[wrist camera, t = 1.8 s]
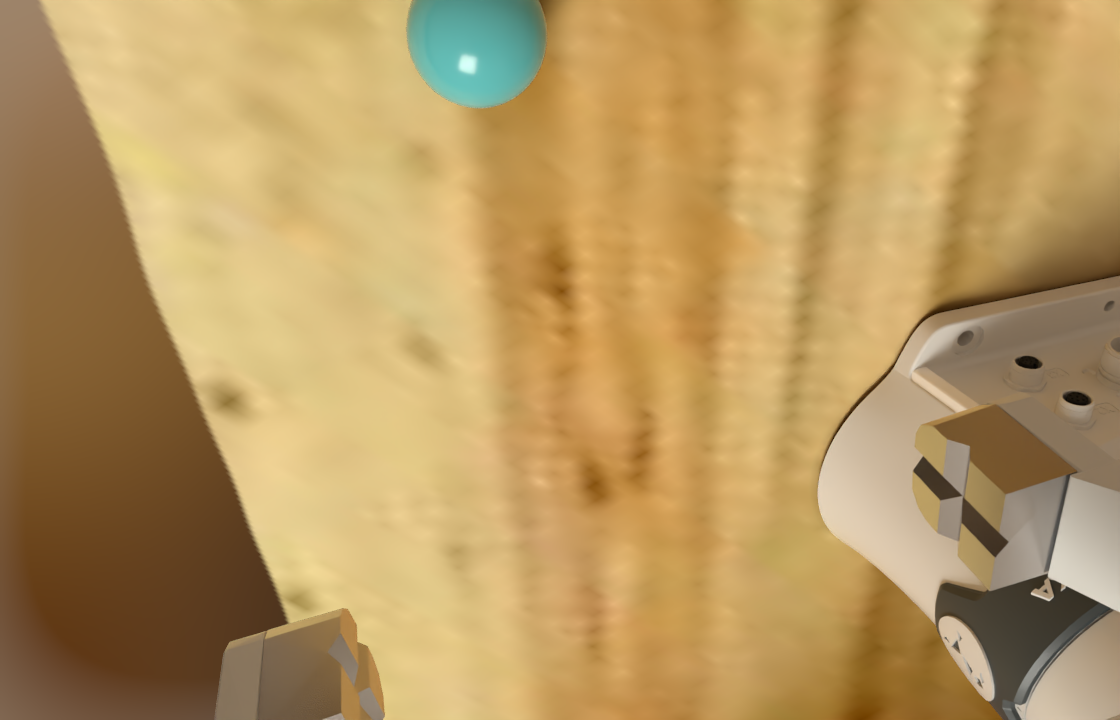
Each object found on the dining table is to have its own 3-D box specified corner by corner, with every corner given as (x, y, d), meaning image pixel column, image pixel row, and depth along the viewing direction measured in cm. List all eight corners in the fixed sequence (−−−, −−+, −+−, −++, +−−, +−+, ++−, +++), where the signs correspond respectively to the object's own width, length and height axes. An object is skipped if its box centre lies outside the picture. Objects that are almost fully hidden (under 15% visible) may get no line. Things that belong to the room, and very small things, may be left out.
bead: (509, -69, 27) (536, -57, 23) (547, 65, 29) (578, 95, 26) (380, -23, 27) (387, -4, 23) (430, 108, 29) (443, 144, 26)
